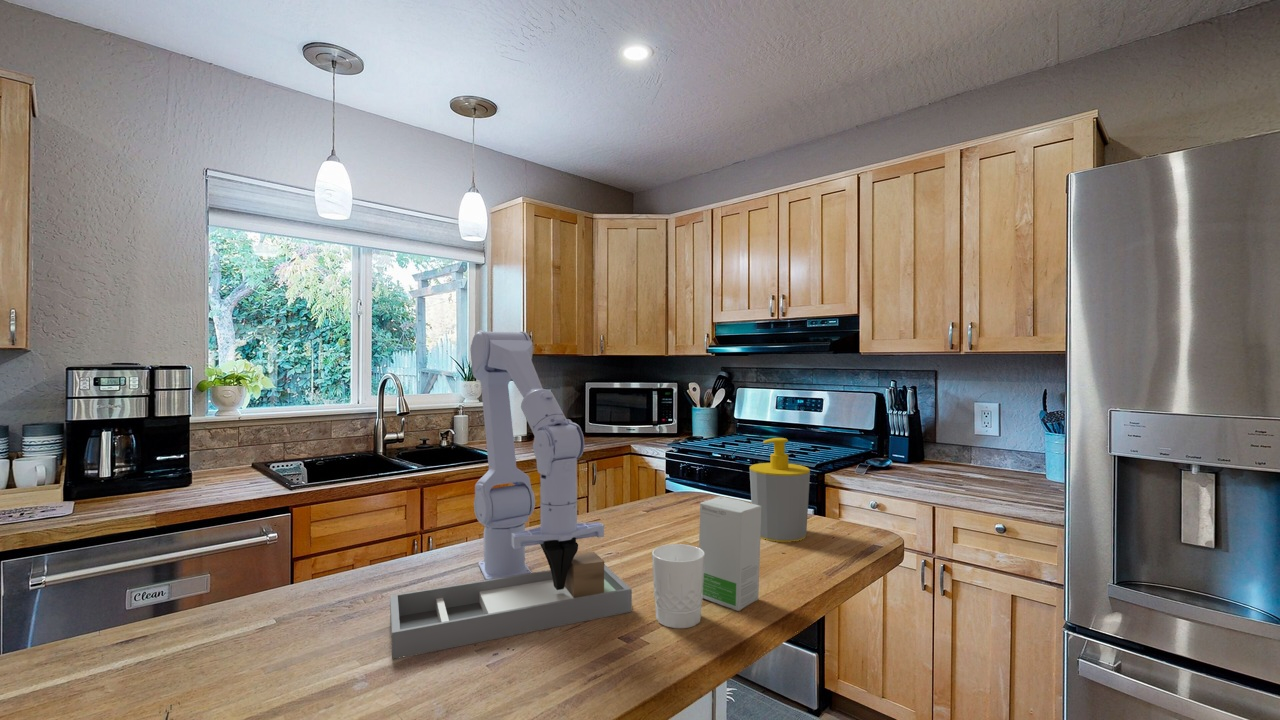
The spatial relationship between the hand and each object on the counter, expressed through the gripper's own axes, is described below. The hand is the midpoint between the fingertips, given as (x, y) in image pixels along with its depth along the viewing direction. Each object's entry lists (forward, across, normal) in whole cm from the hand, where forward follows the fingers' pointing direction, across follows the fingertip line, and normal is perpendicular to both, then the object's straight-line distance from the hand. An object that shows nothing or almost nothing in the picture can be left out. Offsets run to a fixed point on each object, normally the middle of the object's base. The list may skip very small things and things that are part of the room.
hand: (559, 587), depth 91 cm
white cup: (+3, +15, -11) cm, 19 cm away
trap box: (+3, -7, 0) cm, 8 cm away
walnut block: (+1, +4, 0) cm, 4 cm away
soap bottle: (+3, +55, +16) cm, 57 cm away
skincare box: (+3, +26, -8) cm, 28 cm away
